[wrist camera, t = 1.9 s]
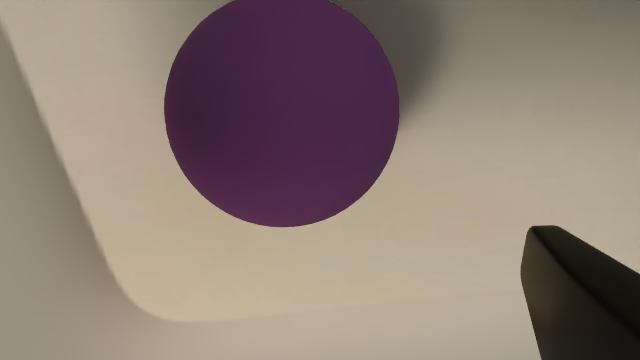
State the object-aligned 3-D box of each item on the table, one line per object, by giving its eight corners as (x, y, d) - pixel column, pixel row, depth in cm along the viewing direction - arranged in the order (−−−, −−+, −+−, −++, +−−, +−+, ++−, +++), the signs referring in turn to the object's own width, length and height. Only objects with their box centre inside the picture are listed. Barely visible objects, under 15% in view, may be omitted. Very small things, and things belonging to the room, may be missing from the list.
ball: (388, 159, 18) (406, 275, 12) (212, 163, 18) (158, 277, 13) (392, -32, 15) (418, 15, 9) (182, -23, 15) (96, 27, 10)
